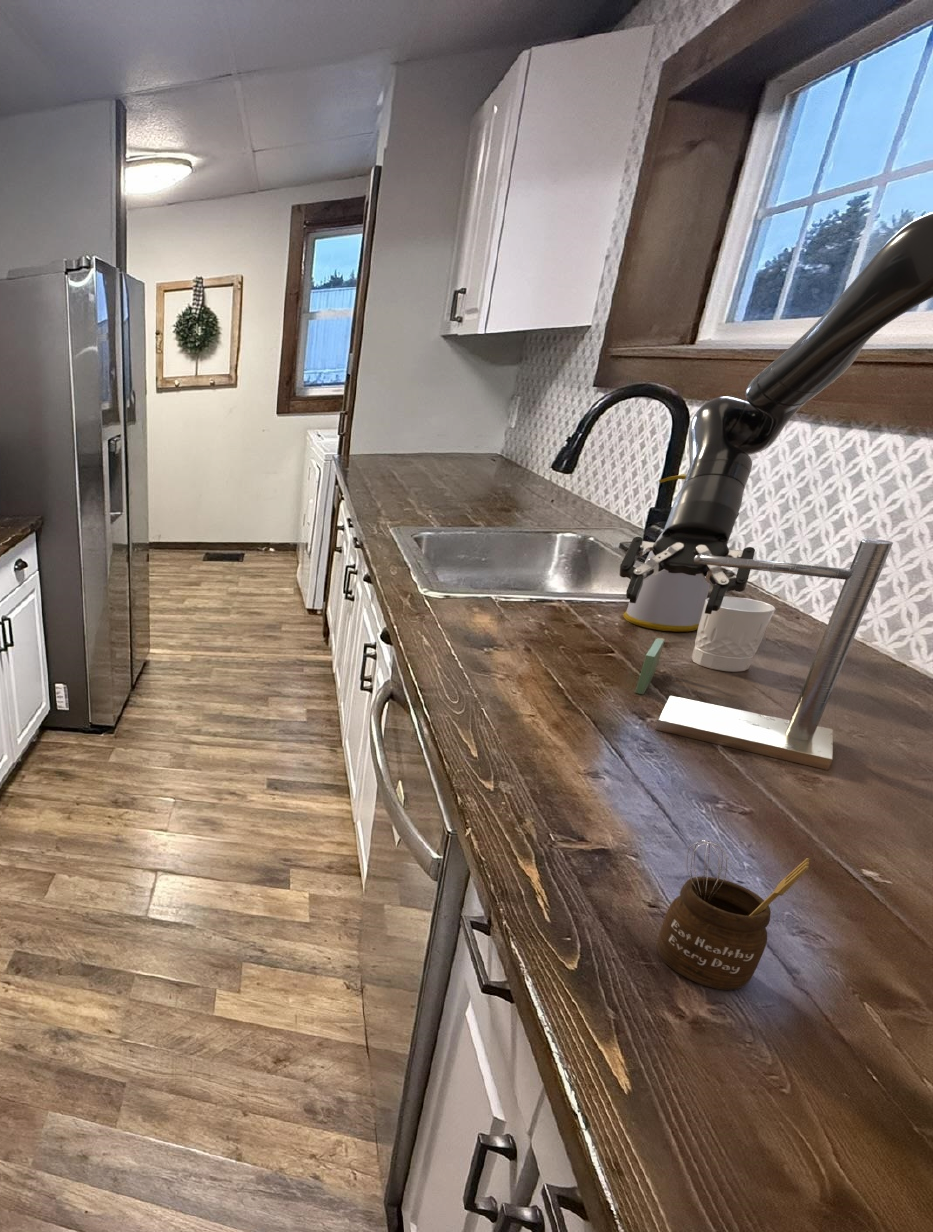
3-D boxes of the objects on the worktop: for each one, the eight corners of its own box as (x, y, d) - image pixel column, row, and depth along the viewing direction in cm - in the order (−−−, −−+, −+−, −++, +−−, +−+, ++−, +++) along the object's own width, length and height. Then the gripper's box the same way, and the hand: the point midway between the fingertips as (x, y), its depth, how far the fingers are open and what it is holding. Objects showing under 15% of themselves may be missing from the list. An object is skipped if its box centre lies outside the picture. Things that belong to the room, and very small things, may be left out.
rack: (639, 726, 96) (698, 534, 86) (652, 701, 102) (708, 520, 92) (828, 770, 84) (921, 553, 74) (829, 739, 90) (915, 536, 81)
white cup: (758, 677, 108) (781, 614, 104) (690, 668, 112) (710, 607, 108) (747, 659, 114) (768, 600, 110) (683, 651, 118) (701, 593, 114)
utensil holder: (660, 927, 63) (701, 812, 58) (758, 965, 58) (811, 844, 54) (646, 964, 59) (689, 844, 54) (750, 1008, 55) (806, 882, 50)
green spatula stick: (645, 655, 103) (659, 633, 110) (634, 692, 105) (648, 668, 113) (654, 656, 102) (667, 634, 110) (643, 694, 104) (656, 670, 112)
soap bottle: (636, 609, 138) (675, 470, 128) (712, 624, 129) (761, 475, 119) (608, 621, 133) (647, 477, 123) (685, 637, 124) (734, 483, 114)
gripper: (644, 495, 109) (610, 584, 106) (774, 502, 99) (740, 601, 96) (641, 523, 114) (608, 609, 111) (764, 533, 105) (731, 628, 102)
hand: (669, 605), depth 104 cm, fingers open, 8 cm apart
